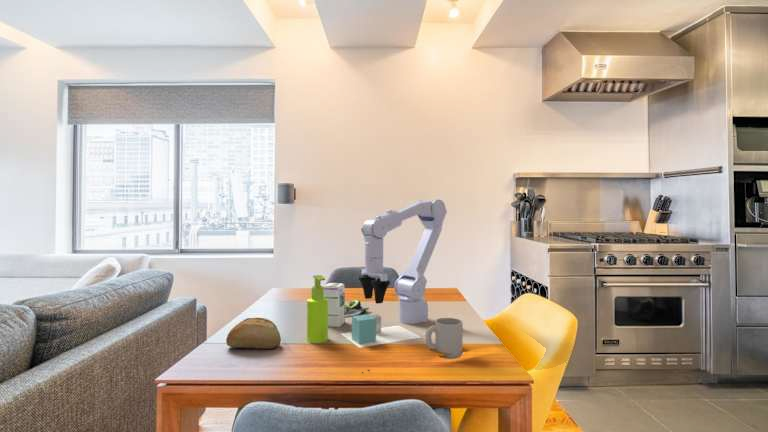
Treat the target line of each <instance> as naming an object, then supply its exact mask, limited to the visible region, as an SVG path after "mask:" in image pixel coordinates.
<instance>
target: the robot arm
mask: <svg viewBox="0 0 768 432" xmlns="http://www.w3.org/2000/svg"><path fill="white" fill-rule="evenodd" d="M447 213H448V211H447V208H446V205H445V203H444V201H443V200H442V199H430V200H427V199H424V200H423V199H420V200H418V201H417V200H416V201H414V202H413V203H411V204H410V205H408V206H405V207H404V208H402V209H401V210H398V211H397V210H395V209H394V210H393V209H388V210H386V213H384V214H382V215H375V218H373V219H367V220H365V222H363V225H362V227H361V234H362V235H363V237H364V239H363V240H364V268H361V275H362V276H358V280H359V282H360V284H361V287H362V291H363V295H364V298H365V299H366V300H368V299H369V300H370V299H373V295H374V301H375V304H383V302H384V298H385V295H386V292H387V289H388V287H389V286H390V284H391V281H390V280H389V278H388V274H387V273H386V272H384V238H385V237H386V236H387V234H388V233H389V232H391V231H392V230H396V229H397V228H399V227H401V225H402V224H403V222H404V221H405V220H408V219H411V218H413V217H416V216H417V218H418V220H419V221H420V223H421V224H422V226H423V227H424V231H423V233H422V235H421V237H420V241H419V243H418V245H417V248H416V250H415V252H414V254H413V257H412V260H411V261H410V264H409V267H408V268H407V269H406V270H404V271H402V272H401V274H400V276H399V277H398V279H396V280H395V282H394V286H393V287H394V293H395V294H396V295H397V299H398V322H399V323H401V324H405V325H415V324H420V323H425V322H426V323H427V322H428V321H429V306H428V305H429V304H428V301H427V300H426V298H424V296H425V293H426V287H427V283H428V280H427V278H426V276H425V275H424V274H425V271H426V269H427V267H428V264H429V262H430V261H431V257H432V254H433V253H434V250H435V249H436V245H437V243H438V240H439V237H440V234H441V232H442V230H443V223H444V220H445V218H446V215H447Z"/></svg>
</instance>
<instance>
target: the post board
mask: <svg viewBox="0 0 768 432" xmlns="http://www.w3.org/2000/svg"><path fill="white" fill-rule="evenodd" d="M340 335H341V336H343V338H345V339H346V340H348V341H349V342H351V343H352V344H353V345H355V346H357V348H359V349H360V348H366V347H372V346H373V347H374V346H378V345H385V344H390V343H397V342H404V341H409V340H414V339H415V340H417V339H422V337H421V336H420V335H418V334H417V333H414V332H412V331H410V330H409V329H406V328H405V327H403V326H400V325H392V326H390V325H389V326H386V327H381V333H377V334H376V342H371V343H365V344H358V343H356V342H355V341H354V340H352V331H349V332H343V333H340Z"/></svg>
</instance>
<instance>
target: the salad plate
mask: <svg viewBox="0 0 768 432" xmlns="http://www.w3.org/2000/svg"><path fill="white" fill-rule="evenodd" d="M368 310H370V307H365V306H362V304H361V301H360V299H358V298H356V299H353V300H350V301H349V302H348V303H347V304H345V319H347V318H352V316H359V315H362V314H363V313H364V312H366V311H368Z"/></svg>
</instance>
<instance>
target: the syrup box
mask: <svg viewBox="0 0 768 432" xmlns="http://www.w3.org/2000/svg"><path fill="white" fill-rule="evenodd" d="M322 287H323V298H327V299H328V327H337V328H339V327H341V326H342V325H344V324H345V323H346V318H345V305H346V302H345V300H346V298H345V295H346V294H345V293H346V292H345V283H341V282H339V283H338V282H329V283H327V284H325V285H323V286H322Z"/></svg>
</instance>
